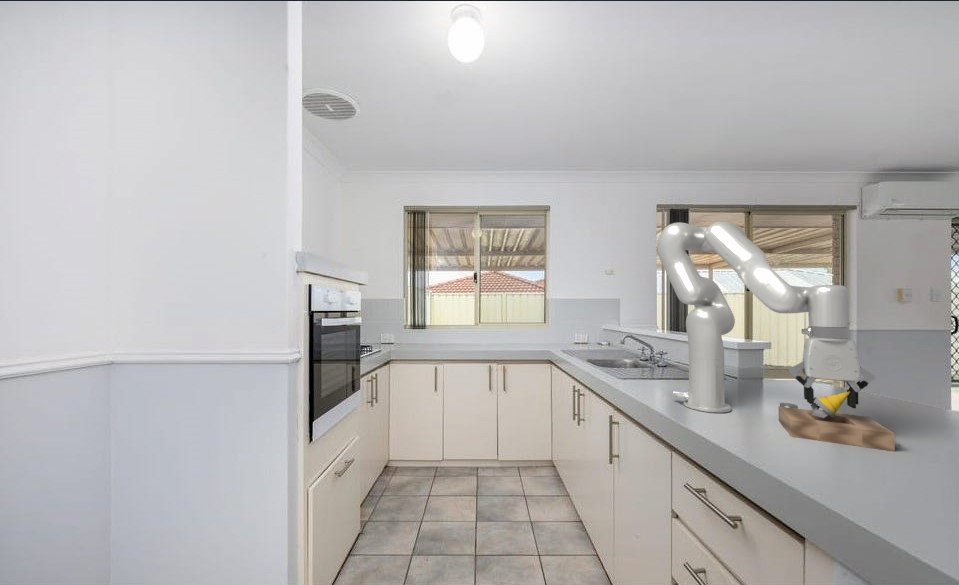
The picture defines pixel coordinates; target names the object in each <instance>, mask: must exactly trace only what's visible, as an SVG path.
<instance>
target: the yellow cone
mask: <svg viewBox="0 0 959 585" xmlns="http://www.w3.org/2000/svg"><path fill="white" fill-rule="evenodd" d="M849 393H850V392H847V391H845V392H841V393H836V394H835V393H834V394H831V395H826V396H822V397H816V396H815V397H814V404H810V408H811V410H812V411H813V413H812V415H814V416H818V417H822V418H824V417H826V416H828V415H830V416H831V417H832V418H833V417H835V416H836V415H835V413H838V412H837V411H838V410H839V409H840V408H841V407H842V404H844V402H845V400H847V396H848V395H849ZM820 408H821V409H822V410H820Z"/></svg>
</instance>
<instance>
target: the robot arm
mask: <svg viewBox="0 0 959 585" xmlns="http://www.w3.org/2000/svg"><path fill="white" fill-rule="evenodd" d="M686 251H691V252H714V253H716V254H717V255H718V256H719V257H720V258H721V259H722V260H723V261H725V263H726V264H727V265H728V266H729V267H731V269H733V271H735V273H736V275H737V276H738V278H739V279H740V281H741V282H742V283H743V284H744V285H745V287H746V288H747V290H749V291H750V292H751V293H752V295H754V296H755V297H756V298H757V299H758V300H759V301H760V302H761V303H762V304H763V305H764V306H765V307H767V308H768V309H769V310H770V311H772V312H774V313H776V314H777V313H778V314H801V313H807V314H808V326H807V328H806V327H805V328H802V329H801V334H802V335H807V338H805V339H804V340H805V341H804V345H803V352H802V353H803V354H802V359H801V360H802V361H801V362H799V363H798V364H796V365H793V366H792V367H791V368H789V369H788V372H789V374H790V375H791V376H792V377H793V378H794V379H795V380H796V381H797V382H799V383H800V384H801V385H802V386H803V399H804V400H806V402H807V403H808V404H810V405H812V404H814V403H815V402H814V398H815V397H814V396H815V394H814V391H815V390H814V388H813V386H812V385H813V384H814V383H815V381H816V380H823V381H836V382H837V381H838V382H845V383H846V385H847V387H848V389H847V390H846V392H850V393H849V395H848V396H847V398H846V404H847V406H848V407H850V408H851V409H856V408H857V405H859V393H860V392H861V390H863V389H864V388H866V387H868V385H869V384H871V382H873V381H874V380H875V379H876V376H875V375H874V374H873V373H871V372H869V371H868V370H866V369H865V368H863V367H862V366H860V365H861V364H860V358H859V352H858V348H857V344H856V342H855V340H852V339H851V337H850V334H851V332H850V302H849V295H850V294H849V290H848V288H847V287H846V286H844V285H840V284H836V285H835V284H827V285H820V284H819V285H814V286H796V285H791V284H790V283H788V282H787V281H786V280H785V279H784V278H782V276H780V275H779V273H777V272H776V271H775V270H774V269H773V268H772V267H771V266H770V264H769V263H768V261H767V257H766V254H765V252H764V251H763V250H762V249H761V248H760V247H759V246H758V245H756V244H755V243H754V242H752V241H751V240H750V239H749V238H748V237H747V233H746V232H745V230H744V229H743V228H742V227H741V226H739V225H737V224H736V223H735V224H734V223H731V222H728V221H724V220H723V221H717V222H716V221H715V222H713V223H711V224H710V225H709V226H699V225H698V226H697V225H693V224H691V223H686V222H673V223H670V224H669V225H667V226H666V227H664V228H663V230H662V231H661V232H660V234H659V236H658V239H657V243H656V252H657V256H658V257H659V260H660V261H659V262H660V263H661V264H662V267H663V269H664V271H665V272H666V274H667V278H668V280H669V282H670V284H671V287H672V288H673V290H674V293H675V295H676V297H677V299H678V300H679V301H680V302H681V303H682V304H685V305H689V306H694V307H695V308H694V309H692V310H691V311H690V312H689V313H688V314H687V315H686V320H685V330H686V334H687V340H688V341H687V342H688V388H687V390H684V391H680V390H673V392H672V394H673V397H674V398H677V399H678V398H679V399H684V400H683V405H684V406H685V407H687V408H689V409H692V410H695V411H700V412H706V413H713V414H714V413H715V414H716V413H717V414H718V413H721V414H724V413H729V412H730V411H731V410H732V407H731V405H730V404H728V403H725V401H726V400H725V350H724V349H725V347H724V346H725V345H724V341H723V336H725V335H727V334H729V333H730V332H731V331H733V329H734V327H735V324H736V319H735V316H734V313H733V311H732V309H731V307H730V305H729V303H728V301H727V300H726V297H725V295H724V294H723V292H722V290H721V288H720V286H719V285H718V284H717V283H716V282H715V281H714V280H713V279H711V278H708V277H704V276H701V274H700V273H699V271H698V270H697V268H696V266H695V264H694V262H693V260H692V259H691V257H690V256H689V254H688V253H687V252H686ZM801 370H802V373H803V374H804V375H805V377H804V378H803V377H802V376H801V375H800V374H799V373H798V372H799V371H801ZM861 375H862V376H863V377H861Z"/></svg>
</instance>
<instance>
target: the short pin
mask: <svg viewBox="0 0 959 585" xmlns="http://www.w3.org/2000/svg"><path fill="white" fill-rule="evenodd" d="M779 406H780V407H789V408H797V409H799V406H798V404H796V403H789V402H780V403H779Z"/></svg>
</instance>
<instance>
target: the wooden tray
mask: <svg viewBox="0 0 959 585" xmlns="http://www.w3.org/2000/svg"><path fill="white" fill-rule="evenodd" d="M812 413H813V411H812V409H805V408H798V409H797V408H789V407H780V405H779V406H778V422H779V424H781V426H782V428H784V430H785V431H786V432H787V433H788V435H790V438H791V437H792V438H800V439H806V440H813V441H822V442H827V443H834V444H839V445H840V444H841V445H849V446H856V447H863V448H869V449H876V450H884V451H889V452H890V451H891V452H895V450H896V449H895V448H896V446H895V442H896V441H895V432H893V431H891V430H890V429H888V428H887V427H885V426H883V425H882V424H880V423H878V422H877V421H876V420H874V419H872V418H871V417H869V416H866V415H865V416H864V415H858V414H851V413H850V414H847V413H840V412H836V413H835V415H836V416H835V417H833V418H832V417H831V416H830V415H828V416H826V417H824V418H822V417H818V416H814V415H812Z"/></svg>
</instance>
